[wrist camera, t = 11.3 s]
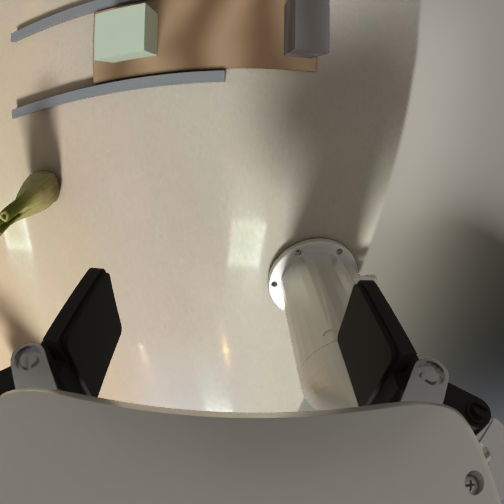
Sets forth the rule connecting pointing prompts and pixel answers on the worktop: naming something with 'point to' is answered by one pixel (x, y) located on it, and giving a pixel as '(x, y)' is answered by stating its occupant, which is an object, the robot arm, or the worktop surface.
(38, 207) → the fennel bulb
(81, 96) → the lane rails
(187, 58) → the strip
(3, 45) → the worktop surface
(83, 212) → the worktop surface
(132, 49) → the block
